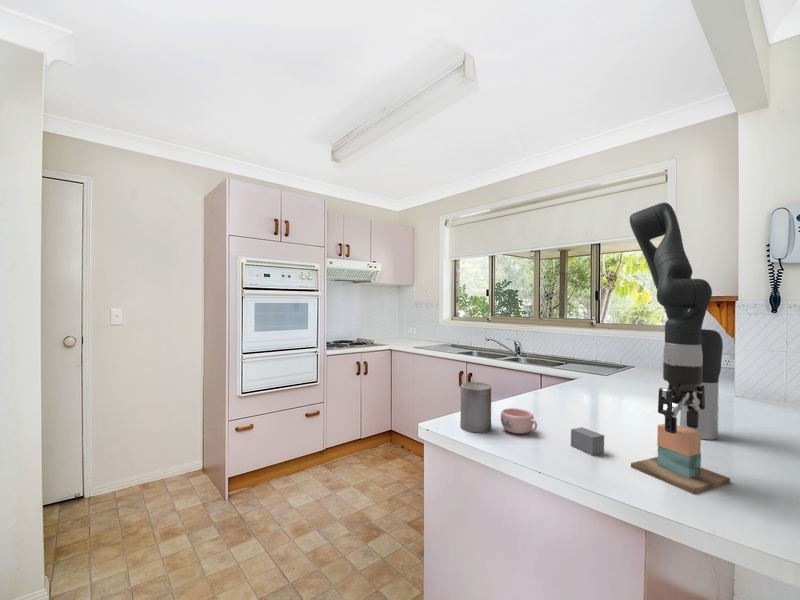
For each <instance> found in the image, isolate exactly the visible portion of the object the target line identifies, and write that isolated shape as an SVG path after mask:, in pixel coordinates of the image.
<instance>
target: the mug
mask: <svg viewBox="0 0 800 600" xmlns="http://www.w3.org/2000/svg"><path fill="white" fill-rule="evenodd" d="M500 422H501V423H500V424H501V425H502V428H503V429H504V430H505V431H507V432H509V433H512V434H519V435H523V434H524V435H525V434H528V433H530V432H531V431H532V432H535V431H536V430H537V429H538V423H537V422H536V420H535V418H534V414H533V413H532V412H531V411H530V410H526V409H522V408H514V407H513V408H505V409H502V411H501V412H500Z"/></svg>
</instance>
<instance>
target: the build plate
mask: <svg viewBox="0 0 800 600" xmlns="http://www.w3.org/2000/svg"><path fill="white" fill-rule="evenodd" d="M630 468H631V469H632V468H633V469H635V470H637V471H640V472H641V473H644V474H646V475H648V476H651V477H653V478H656V479H658V480H661V481H663V482H665V483H668V484H669V485H672V486H674V487H677V488H679V489H681V490H683V491H686V492H688V493H690V494H693V495H694V494H698V493H700V492H703V491H707V490H710V489H712V488H713V489H714V488H718V487H720V486H723V485H727V484H729V483H728V482H730V483H731V477H727V476H726V475H722V474H720V473H718V472H715V471H712V470H709V469H708V468H704V467H702V453H701V452H700V454H697V455H693V456H686V455H683V454H680V453H677V452H675V451H672V450H669V449H666V448H663V447H660V446H658V445H657V456H655V457H651V458H647V459H643V460H638V461H637V460H636V461H633V462H630ZM726 483H727V484H726Z"/></svg>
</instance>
